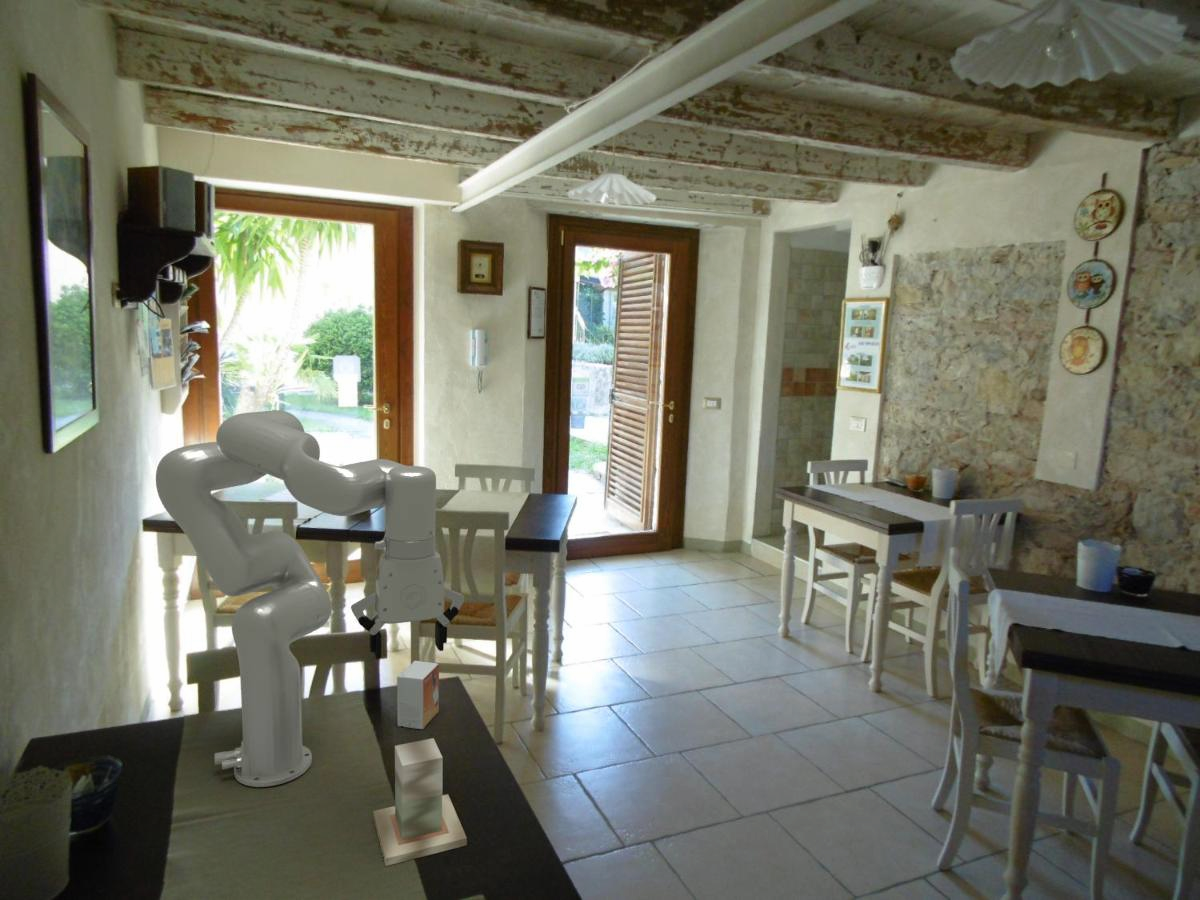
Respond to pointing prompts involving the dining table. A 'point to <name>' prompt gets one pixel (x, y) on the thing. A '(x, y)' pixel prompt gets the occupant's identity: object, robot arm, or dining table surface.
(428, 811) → the sage block
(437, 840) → the board
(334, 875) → the dining table surface
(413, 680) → the small box
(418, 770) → the cream block
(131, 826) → the dining table surface
